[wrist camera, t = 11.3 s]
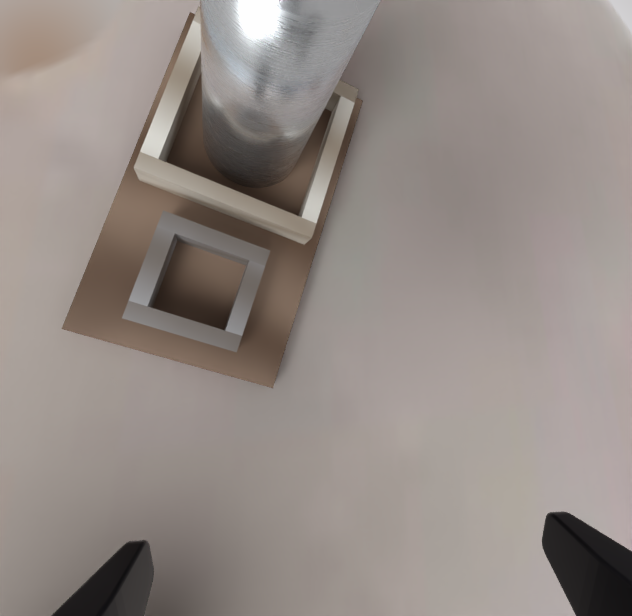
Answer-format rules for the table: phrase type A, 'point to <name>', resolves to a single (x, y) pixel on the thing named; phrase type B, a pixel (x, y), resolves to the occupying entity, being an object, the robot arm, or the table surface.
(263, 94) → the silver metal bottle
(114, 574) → the robot arm
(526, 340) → the table surface
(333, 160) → the socket board
